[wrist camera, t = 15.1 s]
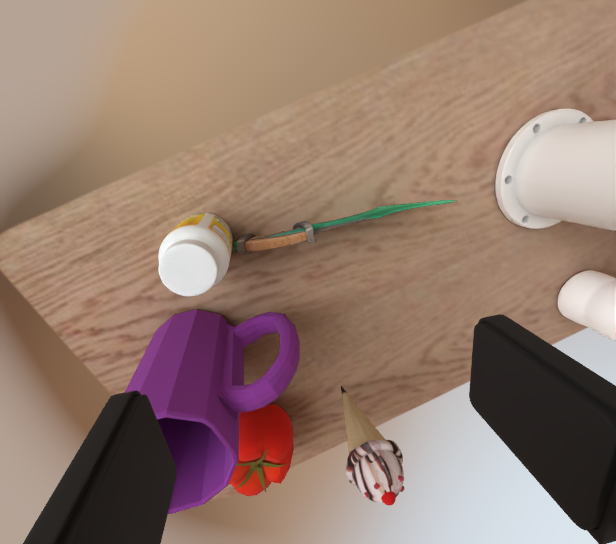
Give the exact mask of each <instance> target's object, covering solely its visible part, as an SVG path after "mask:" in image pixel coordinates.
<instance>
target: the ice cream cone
mask: <svg viewBox="0 0 616 544" xmlns="http://www.w3.org/2000/svg"><path fill="white" fill-rule="evenodd" d="M341 390H342V399H343V407H344V415H345V423H346V431H347V439H348V446H349V457H348V460H347V466H346V475H347V478H348V480H349V481H350V483H352V484H354V485H356V486H357V487H358V489H359V490H360V492H361V493H362V494H363V495H364V496H365V497H366V498H368V499H370V500H372V501H374V502H379V503H385V504H386V505H392V504H393V503H394V502H395V498H396V496H397V495H398V494H399V492H400V491H401V492H402V491H403V490H404V486H402V485H403V481H404V473H403V468H402V461H403V457H402V453H401V451H400V449H399V447H398V445H397V444H396V443H395V442H394V441H391V440H385V439H384V438H383V436H382V435H381V434H380V433H379V431H378V430H377V429H376V428H375V427H374V425H373V424H372V423H371V422H370V420H369V419H368V418H367V417H366V416H365V414H364V413H363V412H362V411H361V409H360V408H359V407H358V406H357V405H356V403H355V402H354V401H353V400H352V398H351V397H350V396H349V395H348V394H347V392H346V391H345V390H344V389H343V387H342V386H341Z"/></svg>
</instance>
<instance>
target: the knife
mask: <svg viewBox="0 0 616 544" xmlns="http://www.w3.org/2000/svg"><path fill="white" fill-rule="evenodd" d="M451 202H455V201H452V200H442V201H430V202H420V203H410V204H400V205H391V206H382V207H378V208H375V209H373V210H370V211H367V212H364V213H360V214H357V215H353V216H349V217H346V218H341V219H337V220H333V221H328V222H323V223H317V224H310V223H309V222H307V221H304V222H299V223H296V224H295V225H294V226H293V230H289V231H285V232H284V231H282V232H279V233H276V234H271V235H263V236H259V237H256V236H255V235H254V234H247V235H244V236H242V237H241V238H239V239H238V240H237V241H236V242H234V243H233V244H234V248H235V251H236V252H239V254H249V253H251V252H253V251H260V250H267V249H272V248H278V247H283V246H287V245H292V244H297V243H301V242H305V241H308V242H316V241H315V236H314V234H316V233H319V232H323V231H326V230H329V229H332V228H335V227H339V226H343V225H347V224H352V223H357V222H361V221H366V220H370V219H375V218H380V217H384V216H385V215H387V214H391V213H394V212H398V211H402V210H407V209H412V208H418V207H424V206H431V205H439V204H446V203H451Z"/></svg>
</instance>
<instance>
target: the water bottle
mask: <svg viewBox="0 0 616 544" xmlns="http://www.w3.org/2000/svg"><path fill="white" fill-rule="evenodd" d="M557 303H558V309H559V311H560V313H561V314H562V315H563V316H565V317H566V318H568V319H570V320H572V321H574V322H577V323H579V324H581V325H584V326H587V327H590V328H592V329H593V330H594V331H596V332H597V333H599V334H601V335H603V336H605V337H607V338H609V339H612V340H615V341H616V278H614V277H612V276H609V275H607V274H604V273H601V272H597V271H592V270H590V271H583V272H580V273H578V274H576V275H574V276H573V277H571V278H570V279H569V280H568V281H567V282H566V283H565V284H564V285H563V287H562V288H561V290H560V293H559V295H558V301H557Z"/></svg>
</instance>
